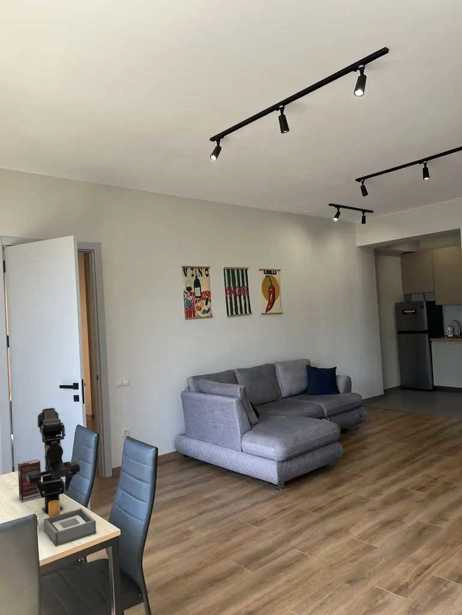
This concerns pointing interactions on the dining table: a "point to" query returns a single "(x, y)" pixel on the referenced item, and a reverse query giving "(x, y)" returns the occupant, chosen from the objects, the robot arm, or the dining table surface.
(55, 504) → the plug
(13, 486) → the dining table surface
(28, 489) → the supplement box
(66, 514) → the inlet box
